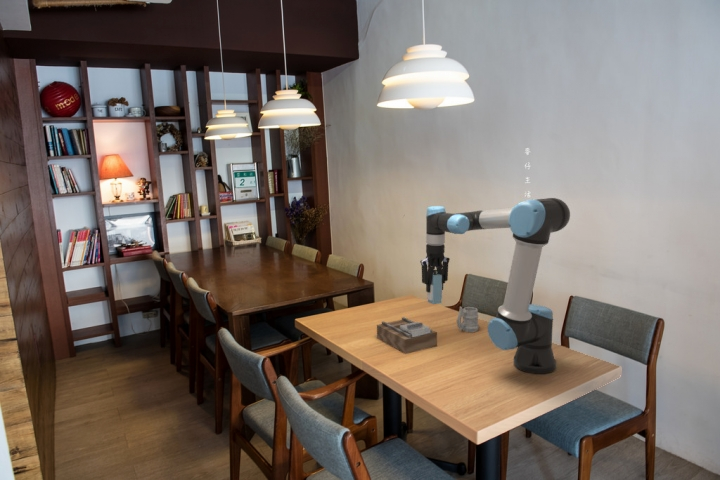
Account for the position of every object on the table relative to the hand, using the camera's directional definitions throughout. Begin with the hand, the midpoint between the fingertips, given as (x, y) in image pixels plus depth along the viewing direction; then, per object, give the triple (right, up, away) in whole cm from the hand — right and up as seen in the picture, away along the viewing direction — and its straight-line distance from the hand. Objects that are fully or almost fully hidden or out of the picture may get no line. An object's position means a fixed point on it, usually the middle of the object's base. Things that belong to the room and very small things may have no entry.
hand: (434, 298), depth 219 cm
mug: (+17, -17, +17) cm, 30 cm away
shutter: (-8, -14, -1) cm, 16 cm away
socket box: (-11, -19, +5) cm, 23 cm away
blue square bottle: (0, -2, 0) cm, 2 cm away
